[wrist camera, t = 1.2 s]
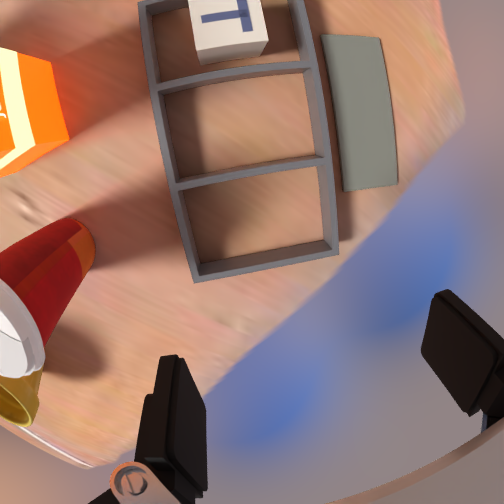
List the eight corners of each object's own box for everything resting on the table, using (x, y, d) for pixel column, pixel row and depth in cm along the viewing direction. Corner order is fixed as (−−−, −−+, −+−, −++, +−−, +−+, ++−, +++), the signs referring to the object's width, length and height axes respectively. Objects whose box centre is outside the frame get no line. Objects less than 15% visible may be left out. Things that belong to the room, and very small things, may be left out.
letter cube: (192, 18, 19) (187, -6, 14) (249, 9, 19) (256, -15, 14) (200, 65, 21) (196, 50, 16) (259, 56, 21) (268, 40, 16)
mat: (319, 35, 20) (321, 34, 20) (376, 38, 21) (379, 37, 20) (342, 191, 26) (344, 192, 26) (395, 183, 27) (397, 184, 26)
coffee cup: (28, 245, 25) (-58, 323, 11) (64, 189, 23) (-44, 250, 10) (81, 297, 28) (20, 400, 14) (122, 248, 26) (55, 353, 13)
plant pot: (63, 386, 33) (42, 437, 24) (11, 369, 31) (-13, 412, 22) (46, 333, 29) (13, 386, 20) (-9, 316, 28) (-44, 359, 19)
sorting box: (144, 12, 18) (137, 2, 16) (291, -9, 18) (297, -20, 16) (195, 270, 28) (193, 283, 26) (329, 244, 28) (339, 254, 26)
